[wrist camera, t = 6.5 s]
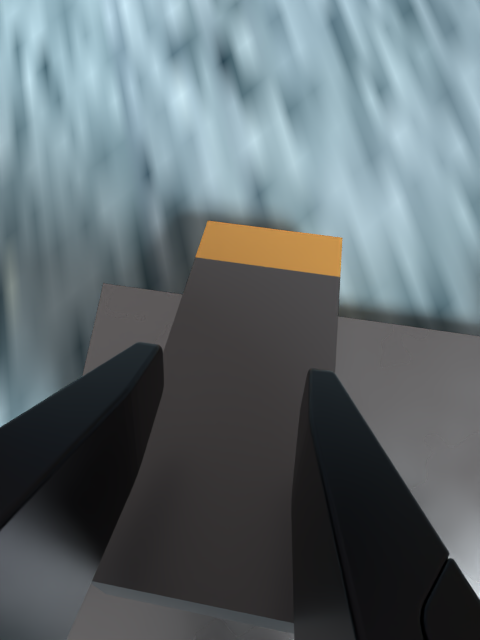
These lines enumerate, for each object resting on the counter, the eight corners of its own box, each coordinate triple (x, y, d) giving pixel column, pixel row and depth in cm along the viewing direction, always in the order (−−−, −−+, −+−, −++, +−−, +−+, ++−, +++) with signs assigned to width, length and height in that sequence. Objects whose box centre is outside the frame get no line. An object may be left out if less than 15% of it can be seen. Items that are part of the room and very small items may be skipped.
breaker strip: (879, 842, 11) (1195, 1063, 7) (36, 656, 13) (-57, 753, 9) (838, 393, 13) (1066, 384, 10) (116, 290, 15) (66, 249, 12)
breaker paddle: (322, 629, 7) (342, 237, 13) (85, 580, 8) (207, 220, 14) (308, 636, 9) (332, 276, 15) (106, 594, 9) (209, 259, 15)
